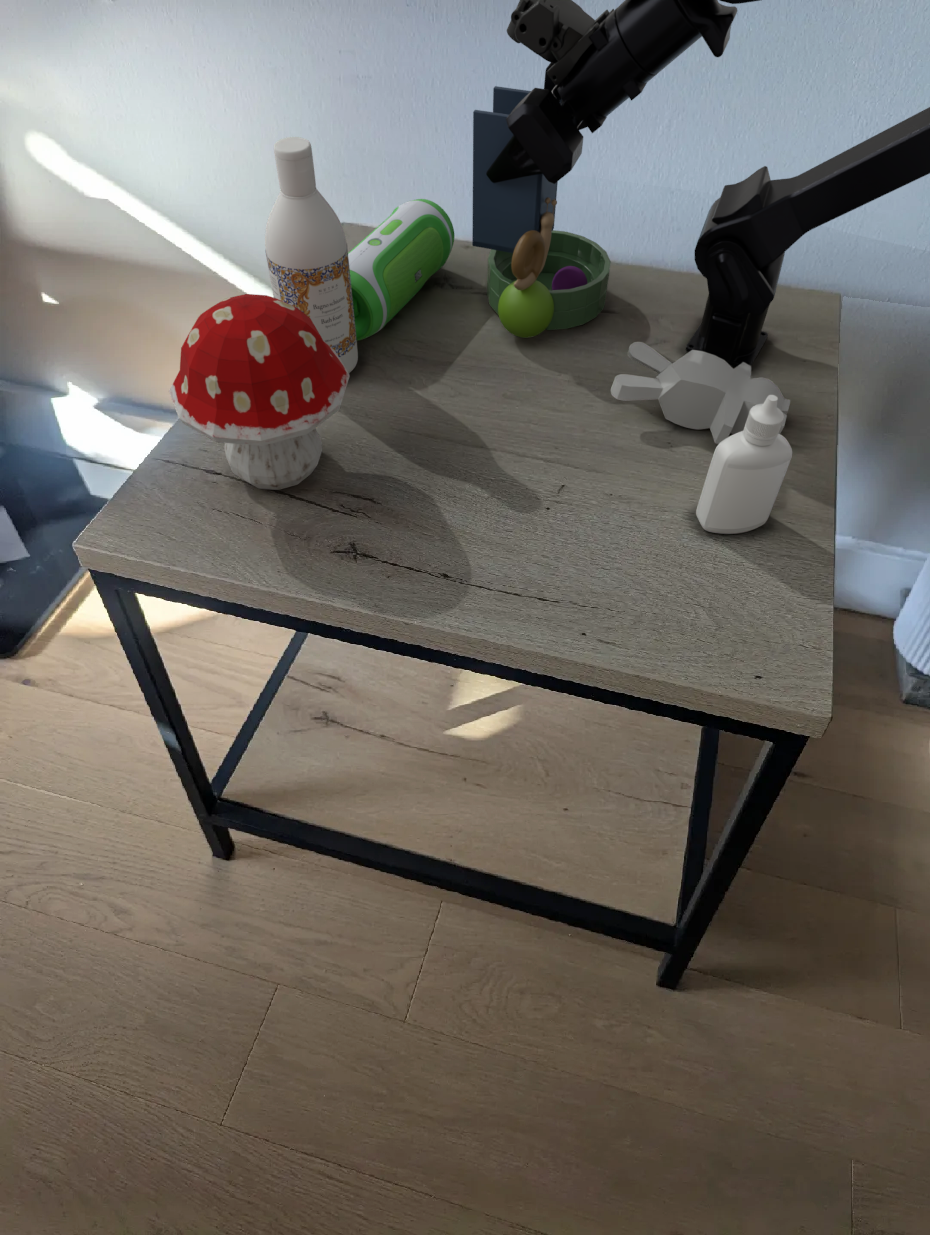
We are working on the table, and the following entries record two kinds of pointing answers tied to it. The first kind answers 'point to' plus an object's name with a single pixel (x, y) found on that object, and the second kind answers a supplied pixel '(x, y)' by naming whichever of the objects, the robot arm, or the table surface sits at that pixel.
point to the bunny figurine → (698, 390)
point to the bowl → (562, 252)
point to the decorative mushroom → (259, 387)
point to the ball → (568, 278)
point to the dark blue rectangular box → (508, 203)
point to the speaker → (397, 262)
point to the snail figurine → (529, 283)
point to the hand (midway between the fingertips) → (500, 163)
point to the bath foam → (310, 251)
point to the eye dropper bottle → (746, 473)
